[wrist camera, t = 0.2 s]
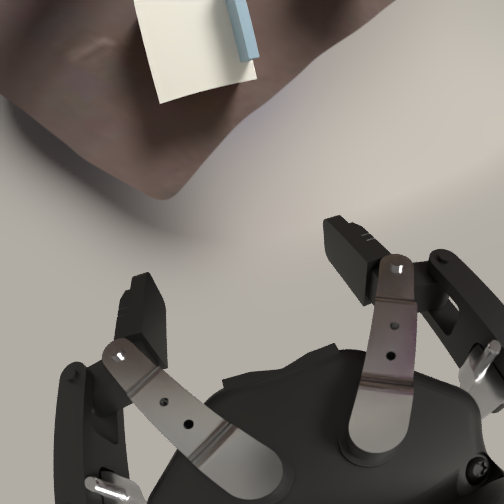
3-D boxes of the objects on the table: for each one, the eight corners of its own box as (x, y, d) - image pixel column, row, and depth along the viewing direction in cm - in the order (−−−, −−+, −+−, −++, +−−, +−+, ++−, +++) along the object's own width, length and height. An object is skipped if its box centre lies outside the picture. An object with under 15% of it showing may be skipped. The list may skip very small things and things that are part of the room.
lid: (132, -8, 18) (125, -22, 14) (228, -30, 19) (236, -46, 15) (160, 103, 26) (156, 105, 22) (255, 79, 27) (267, 77, 23)
